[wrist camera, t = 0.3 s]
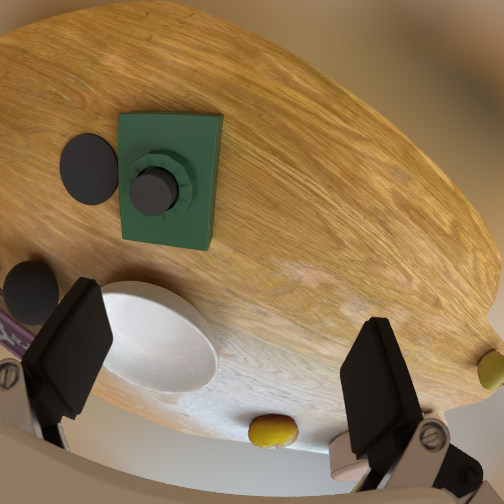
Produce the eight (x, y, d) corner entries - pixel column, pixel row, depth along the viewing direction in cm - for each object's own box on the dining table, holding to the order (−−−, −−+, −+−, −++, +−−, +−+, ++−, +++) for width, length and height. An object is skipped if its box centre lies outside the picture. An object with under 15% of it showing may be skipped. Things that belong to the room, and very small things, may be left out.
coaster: (59, 134, 27) (57, 135, 27) (119, 132, 27) (117, 133, 27) (64, 201, 32) (63, 202, 31) (121, 206, 32) (119, 208, 32)
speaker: (18, 256, 37) (-16, 290, 28) (48, 242, 35) (9, 281, 27) (46, 302, 42) (18, 339, 33) (79, 295, 40) (49, 338, 31)
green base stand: (132, 110, 26) (109, 115, 22) (223, 114, 26) (215, 118, 22) (133, 226, 33) (115, 247, 29) (212, 237, 33) (204, 260, 29)
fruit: (247, 432, 59) (245, 457, 52) (251, 404, 57) (249, 429, 49) (293, 435, 59) (295, 459, 51) (301, 407, 57) (305, 432, 49)
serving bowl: (82, 252, 36) (57, 280, 30) (228, 271, 36) (220, 308, 30) (111, 349, 46) (97, 377, 40) (222, 370, 46) (217, 403, 40)
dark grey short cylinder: (138, 166, 25) (128, 172, 23) (178, 169, 25) (171, 176, 23) (138, 205, 27) (130, 214, 25) (176, 210, 27) (170, 218, 25)
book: (73, 338, 46) (62, 356, 42) (69, 371, 54) (61, 387, 49) (-14, 274, 40) (-28, 288, 36) (-7, 317, 48) (-17, 330, 44)
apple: (470, 364, 44) (497, 391, 35) (493, 340, 44) (520, 363, 35) (470, 379, 48) (493, 403, 39) (491, 356, 47) (515, 378, 38)
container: (374, 417, 56) (382, 459, 46) (400, 430, 62) (407, 464, 52) (315, 441, 63) (317, 479, 53) (348, 452, 69) (352, 484, 59)
